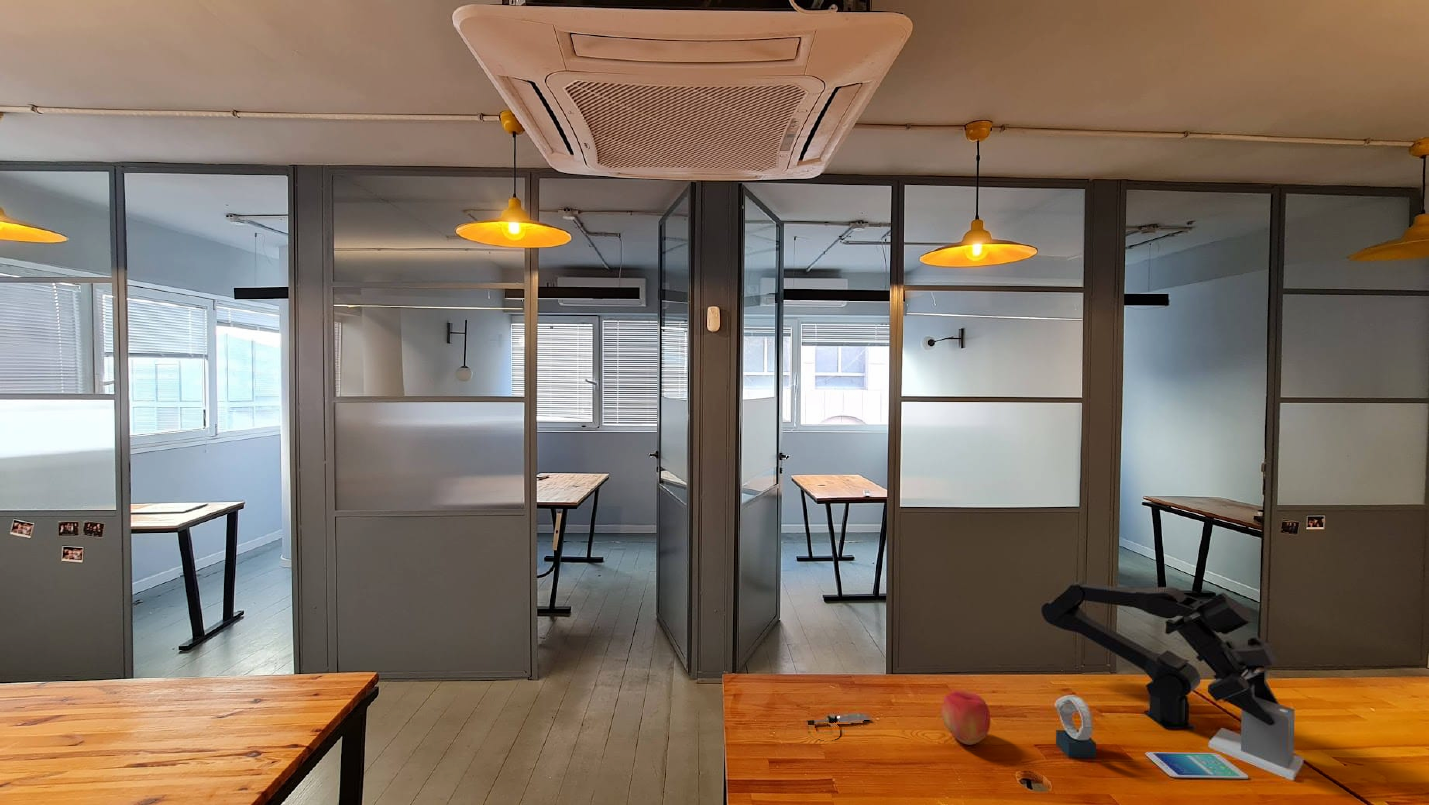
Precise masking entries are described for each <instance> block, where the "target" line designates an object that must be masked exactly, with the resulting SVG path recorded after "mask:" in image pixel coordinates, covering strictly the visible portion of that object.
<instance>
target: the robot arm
mask: <svg viewBox="0 0 1429 805" xmlns="http://www.w3.org/2000/svg"><path fill="white" fill-rule="evenodd" d="M1085 601H1087V602H1094V603H1100V604H1106V605H1115V606H1121V607H1129V608H1135V609H1137V610H1140V611H1143V612H1144V613H1147V614H1150V615H1152V616H1156V617H1159V618H1162V619H1167V620H1165V632H1164V633H1165V634H1167V635H1171V634H1172V633H1174V632H1177V633H1178V634H1179V636H1180V637H1182V639H1183V640H1184V641H1185V642H1186V643H1187V644H1188V645H1189V646H1190V648H1192V650H1193V651H1194V652H1195V653H1196V654H1197V655H1196V656H1195V658H1196V659H1197V661H1199V662H1201V661H1204V663H1205V664H1206V665H1207V666H1208V667H1209V668H1210V669H1211V670H1212V671H1213V672H1214V674H1213V675H1212V676H1213V678H1214V680H1212V681H1211V683H1209V684H1208V686H1207V693H1208V694H1209V695H1210V696H1211V697H1212V698H1213V699H1214V701H1215V702H1218V701H1221V700H1222V701H1223V702H1227V703H1229V704H1231V705H1232V706H1234V707H1237V708H1238V709H1240V710H1241V711H1242V710H1244V711H1245V712H1247V713H1249V714H1251V715H1252V716H1254V717H1256V718H1257V719H1259V720H1261V721H1263V722H1264V723H1266V724H1268V725H1270V726H1271V725H1274V724H1275V722H1274V720H1273V719H1272V718H1271V716H1270V715H1269V714H1268V712H1267V711H1266V710H1265V708H1264V707H1263V706H1262V704H1261V703H1260V702H1259V701H1258V699H1257V698H1256V697H1258V698H1261V699H1264V700H1267V701H1270V702H1273V703H1276V704H1279V705H1281V704H1280V703H1279V701H1278V699H1277V698H1276V695H1275V694H1274V693H1273V691H1272V690H1271V688H1270V686H1269V684H1268V682H1267V675H1268V671H1269V670H1268V669H1265V668H1266V667H1269V666H1272V665H1274V662H1277V658H1276V657H1275V655H1274V653H1273V652H1272V651H1273V650H1274V648H1273V647H1272V646H1271V645H1269V642H1265V641H1264V640H1263V639H1261V638H1260V637H1259V636H1258V637H1257V636H1255V637H1250V638H1249V639H1247V644H1246V643H1245V644H1242V645H1235V644H1234V643H1233V642H1232V641H1231V640H1228V639H1226V640H1224V639H1223V638H1222V637H1221V636H1220V635H1219V634H1218V633H1220V634H1223V635H1228V634H1231V633H1233V632H1235V631H1238V630H1239V629H1242V628H1243V627H1246V626H1247V625H1250V624H1252V623H1254V617H1253V616H1252V614H1251V613H1250V611H1249V610H1248V609H1247V608H1246V607H1245V605H1243V603H1240V602H1238V601H1237V600H1236V599H1234V598H1233V597H1229V596H1228V595H1227V594H1226V592H1223V591H1222V592H1220V593H1219V594H1217V595H1215V596H1214V597H1213V598H1212V599H1209V600H1207V601H1204V600H1200V599H1197V598H1195V597H1192V596H1189V595H1186V594H1185V593H1184V592H1182V591H1181V589H1179V588H1177V587H1174V586H1173V587H1172V586H1164V587H1163V586H1162V587H1161V586H1159V587H1157V586H1156V587H1148V588H1131V587H1123V586H1115V585H1106V584H1098V583H1097V584H1096V583H1089V582H1085V581H1078V582H1074V583H1073V584H1070V585H1069V586H1068V588H1067V589H1066V590H1065V591H1063V592H1062V593H1061V594H1059V595H1058V596H1057V597H1056V598H1054V599H1053V600H1049V601H1047V602H1045V603H1044V604H1043V605H1042V607H1041V615H1042V617H1043V620H1044V621H1045V622H1046V623H1048V624H1049V625H1051V626H1053V627H1056V628H1059V629H1061V630H1064V631H1068V632H1073V633H1077V634H1080V635H1081V636H1082V637H1084V638H1086V639H1088V640H1090V641H1092V642H1094V643H1095V644H1098V645H1099V646H1101V647H1102V648H1104V649H1106V650H1107V651H1109V652H1111V653H1113V654H1114V655H1117V656H1118V657H1120V658H1121V659H1123V660H1125V661H1128V662H1129V663H1130V664H1133V666H1136V667H1138V668H1140V669H1141V670H1142V671H1144V673H1145V674H1146V675H1147V676H1148V677H1149V678H1150V679H1151V681H1150V682H1148V683H1147V684H1145V687H1146V689H1147V692H1148V694H1149V708H1148V709H1146V710H1143V713H1144V714H1145V715H1146V716H1147V717H1148V718H1151V719H1152V720H1153V721H1154V722H1156V723H1158V725H1160V726H1161V725H1162V726H1161V727H1162V728H1164V729H1166V730H1168V729H1169V730H1173V729H1174V730H1175V729H1176V730H1177V729H1178V730H1183V729H1185V730H1186V729H1189V730H1190V729H1194V727H1195V726H1194V725H1193V724H1191V723H1190V722H1189V721H1190V703H1189V702H1188V701H1189V696H1188V695H1189V694H1191V693H1192V692H1193V691H1194V690H1195V689H1197V688H1198V687H1199V685H1200V684H1201V675H1200V673H1199V671H1198V669H1197V668H1196V667H1195V666H1194V665H1193V664H1190V663H1189V662H1190V660H1189V659H1186V658H1182V657H1180V656H1178V655H1177V654H1175V653H1174V652H1172V651H1171V650H1168V649H1167V650H1165V651H1164V652H1162V653H1156V652H1154V651H1152V650H1150V649H1148V648H1145V647H1144V646H1142V645H1141V644H1139V643H1137V642H1135V641H1133V640H1131V639H1129V638H1127V637H1125V635H1121V634H1120V633H1118V632H1116V631H1114V630H1113V629H1110V627H1109V628H1108V626H1105V625H1103V624H1102V623H1100V622H1098V621H1096V620H1094V619H1092V618H1091V617H1089V615H1087V614H1086V612H1084V611H1083V609H1082V608H1081V607H1080V606H1081V605H1082V604H1084V602H1085ZM1196 613H1197V614H1198V615H1196V616H1194V617H1192V616H1193V615H1194V614H1196ZM1177 617H1180V618H1178V619H1176V620H1175V619H1174V618H1177ZM1259 669H1263V670H1261V671H1260V670H1259Z"/></svg>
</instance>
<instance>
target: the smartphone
mask: <svg viewBox="0 0 1429 805" xmlns="http://www.w3.org/2000/svg"><path fill="white" fill-rule="evenodd" d="M1145 757H1146V758H1147V759H1149V760H1150V761H1151V762H1152V764H1154V765H1155V766H1156V767H1158V768H1159V769H1160V770H1161V771H1162V772H1163V773H1164V774H1166V775H1167V777H1169V778H1171V779H1174V780H1175V779H1177V780H1179V779H1180V780H1186V779H1188V780H1244V781H1245V780H1249V775H1248V774H1246V773H1245V772H1243V771H1242V770H1241V769H1239V767H1237V766H1235V765H1234V764H1232V762H1230V761H1229V760H1227V759H1226V758H1225V757H1223V756H1222V755H1220V754H1219V753H1215V752H1172V751H1171V752H1169V751H1167V752H1165V751H1163V752H1162V751H1161V752H1160V751H1147V752H1145Z"/></svg>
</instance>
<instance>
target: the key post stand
mask: <svg viewBox="0 0 1429 805" xmlns="http://www.w3.org/2000/svg"><path fill="white" fill-rule="evenodd" d="M1208 748H1210V749H1212V750H1215V751H1217V752H1220V753H1221V754H1222V753H1223V754H1225V755H1226V756H1227V755H1228V756H1230V757H1232V758H1235V759H1237V760H1240V761H1242V762H1245V763H1248V764H1250V765H1253V767H1257V768H1259V769H1262V770H1265V771H1267V772H1270V773H1272V774H1275V775H1277V776H1280V777H1282V778H1284V777H1285V778H1284V779H1287V780H1290V781H1292V780H1293V781H1294V780H1295V778H1296V776H1297V775H1298V774H1299V771H1300V770H1301V768H1302V766H1303V764H1304V757H1302V756H1298V755H1297V754H1294V759H1293V761H1292V763H1291V764H1290V766H1289V768H1288V769H1286V768H1284V767H1281V766H1279V765H1276V764H1274V763H1271V762H1268V761H1266V760H1263V759H1261V758H1258V757H1256V756H1253V755H1251V754H1248V753H1245V752H1243V751H1241V733H1236V732H1234V731H1232V730H1229V729H1226V728H1223V727H1221V728H1220V729H1219V730H1218V732H1216V734H1215V735H1214V736H1213V737H1212V738H1211V739H1210V740H1209V742H1208Z"/></svg>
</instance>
